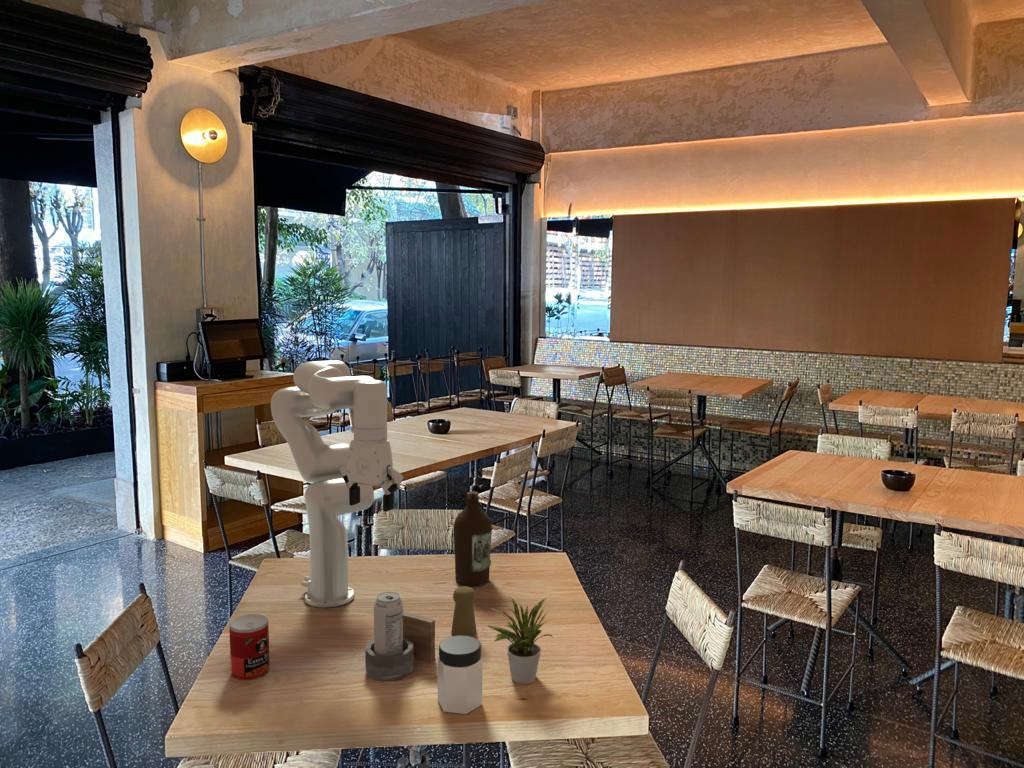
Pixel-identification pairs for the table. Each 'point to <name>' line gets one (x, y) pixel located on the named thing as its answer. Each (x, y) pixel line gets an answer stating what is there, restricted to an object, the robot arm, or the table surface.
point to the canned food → (249, 646)
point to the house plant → (522, 642)
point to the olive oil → (472, 543)
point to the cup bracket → (414, 645)
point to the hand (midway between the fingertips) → (371, 507)
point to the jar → (460, 674)
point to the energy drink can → (388, 624)
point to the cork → (464, 612)
